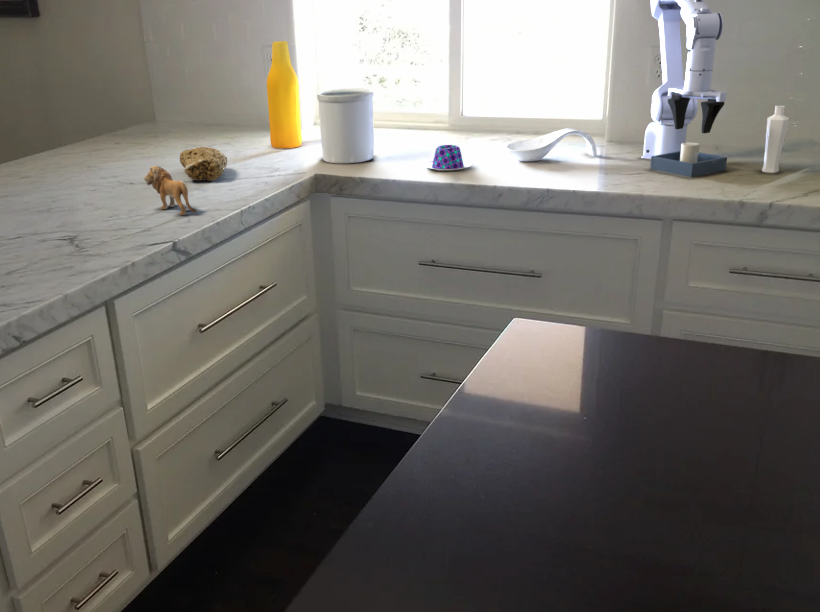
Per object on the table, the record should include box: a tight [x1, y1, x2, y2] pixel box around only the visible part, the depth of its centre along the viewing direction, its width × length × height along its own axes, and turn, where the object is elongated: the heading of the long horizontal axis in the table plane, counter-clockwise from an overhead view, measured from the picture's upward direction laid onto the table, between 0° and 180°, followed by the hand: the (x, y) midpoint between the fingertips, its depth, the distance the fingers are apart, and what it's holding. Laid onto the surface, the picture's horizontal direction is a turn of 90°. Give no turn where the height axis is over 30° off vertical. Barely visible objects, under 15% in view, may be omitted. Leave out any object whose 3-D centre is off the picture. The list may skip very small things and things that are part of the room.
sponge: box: [179, 146, 228, 182], centre depth 220 cm, size 13×8×20 cm
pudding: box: [423, 144, 473, 172], centre depth 218 cm, size 12×12×5 cm
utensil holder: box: [316, 88, 375, 164], centre depth 230 cm, size 15×15×18 cm
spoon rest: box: [504, 127, 598, 163], centre depth 224 cm, size 24×12×7 cm, turn 98°
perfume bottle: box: [761, 105, 790, 174], centre depth 199 cm, size 5×4×15 cm
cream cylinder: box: [680, 141, 700, 163], centre depth 205 cm, size 4×4×6 cm
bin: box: [649, 151, 728, 178], centre depth 205 cm, size 12×12×3 cm
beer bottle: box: [266, 40, 303, 150], centre depth 249 cm, size 9×9×29 cm
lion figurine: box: [143, 165, 198, 216], centre depth 186 cm, size 15×5×9 cm, turn 50°
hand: (692, 130), depth 202 cm, fingers open, 7 cm apart
